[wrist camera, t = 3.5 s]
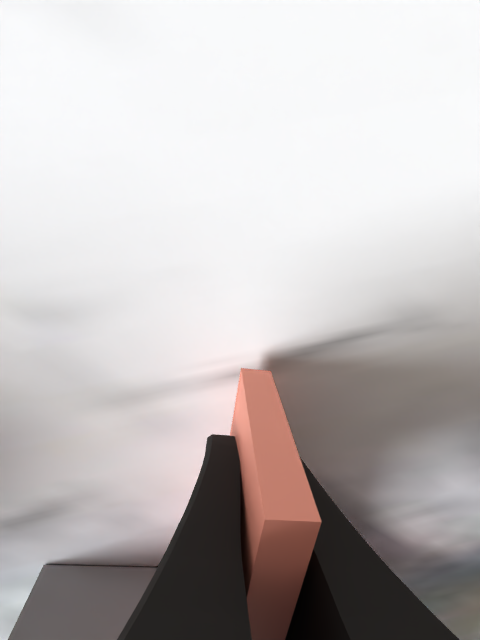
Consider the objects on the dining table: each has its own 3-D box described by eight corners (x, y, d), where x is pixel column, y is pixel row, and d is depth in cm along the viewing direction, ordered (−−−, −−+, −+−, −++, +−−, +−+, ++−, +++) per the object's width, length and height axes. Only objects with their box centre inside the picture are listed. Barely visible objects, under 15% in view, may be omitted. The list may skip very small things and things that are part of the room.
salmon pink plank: (212, 661, 13) (211, 877, 8) (192, 661, 12) (181, 880, 8) (270, 371, 8) (321, 521, 4) (241, 367, 8) (265, 519, 4)
